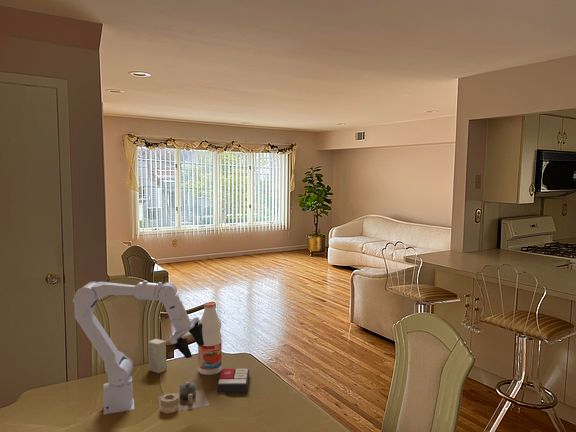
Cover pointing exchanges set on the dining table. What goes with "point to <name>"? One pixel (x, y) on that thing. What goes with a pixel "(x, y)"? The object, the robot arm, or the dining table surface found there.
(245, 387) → the red white black box
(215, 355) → the fruit juice
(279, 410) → the dining table surface
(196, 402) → the gear board
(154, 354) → the skincare box
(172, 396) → the maple gear
